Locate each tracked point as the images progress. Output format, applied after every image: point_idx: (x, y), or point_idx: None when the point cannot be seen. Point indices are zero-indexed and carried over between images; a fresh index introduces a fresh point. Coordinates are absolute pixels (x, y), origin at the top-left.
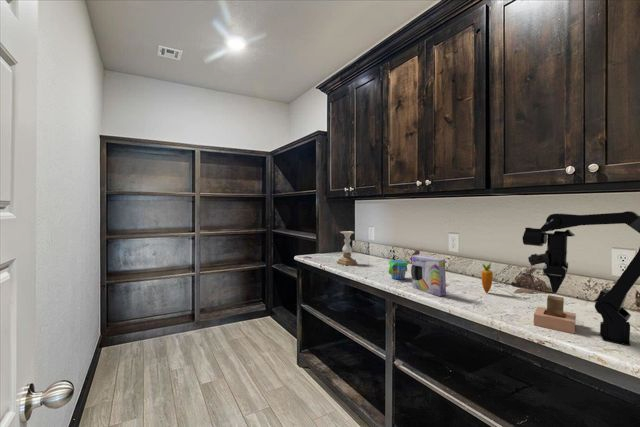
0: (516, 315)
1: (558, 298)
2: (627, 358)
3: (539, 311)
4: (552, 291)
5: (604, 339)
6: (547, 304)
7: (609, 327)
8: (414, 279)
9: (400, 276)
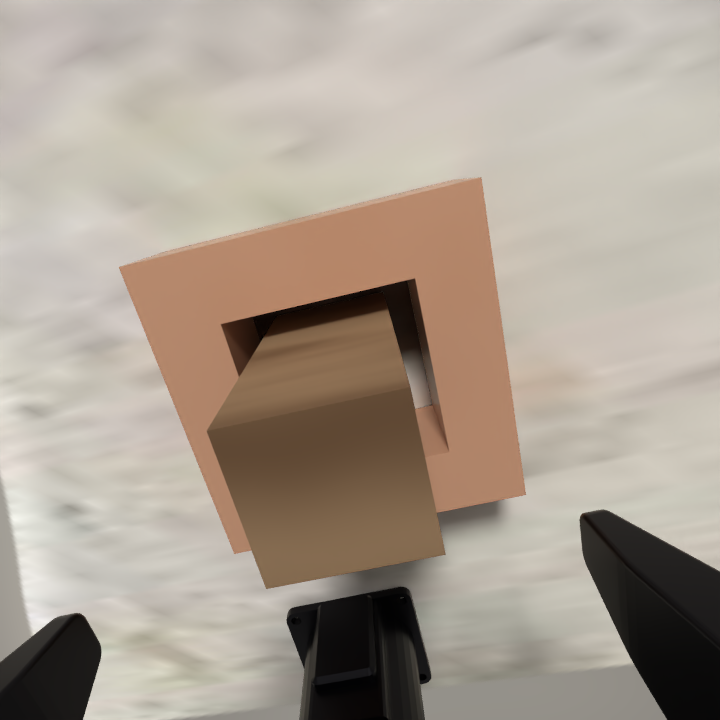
0: (308, 10)
1: (323, 531)
2: (119, 708)
3: (280, 267)
4: (39, 636)
5: (287, 620)
6: (234, 391)
7: (303, 709)
8: None
9: None
